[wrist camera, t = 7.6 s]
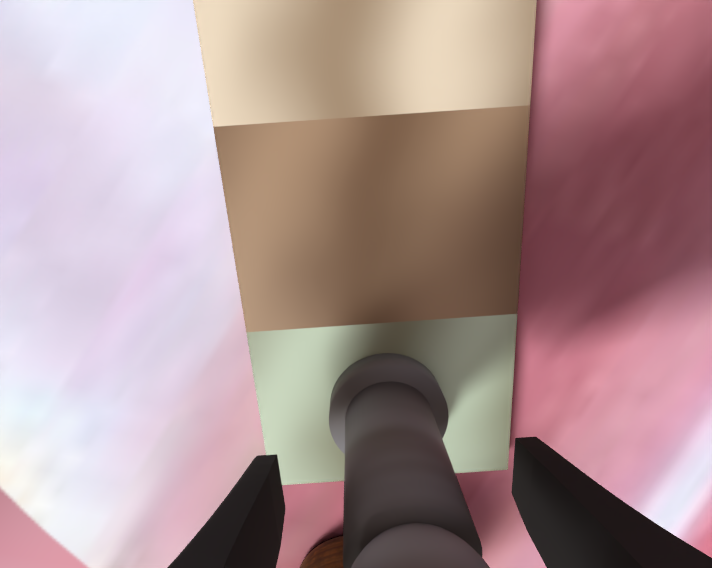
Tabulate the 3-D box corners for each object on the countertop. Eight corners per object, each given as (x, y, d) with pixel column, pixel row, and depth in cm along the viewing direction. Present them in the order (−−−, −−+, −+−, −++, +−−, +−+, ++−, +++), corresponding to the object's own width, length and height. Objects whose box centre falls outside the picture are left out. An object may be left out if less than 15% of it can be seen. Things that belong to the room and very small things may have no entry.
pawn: (441, 447, 14) (580, 841, 6) (334, 453, 14) (311, 857, 6) (442, 349, 13) (620, 659, 5) (326, 356, 13) (281, 679, 5)
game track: (532, -160, 10) (548, -189, 9) (499, 455, 16) (507, 469, 15) (181, -136, 10) (166, -163, 9) (275, 470, 16) (271, 485, 15)
